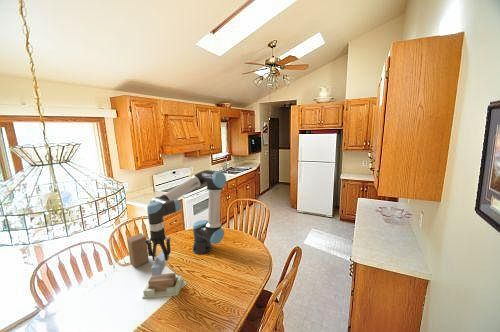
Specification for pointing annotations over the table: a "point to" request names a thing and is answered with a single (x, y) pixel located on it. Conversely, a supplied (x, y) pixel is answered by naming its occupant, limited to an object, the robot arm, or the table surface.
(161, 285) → the brown rectangular block
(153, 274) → the blue-grey rectangular prism
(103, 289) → the table surface
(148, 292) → the jig
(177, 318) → the table surface
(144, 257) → the wooden block
